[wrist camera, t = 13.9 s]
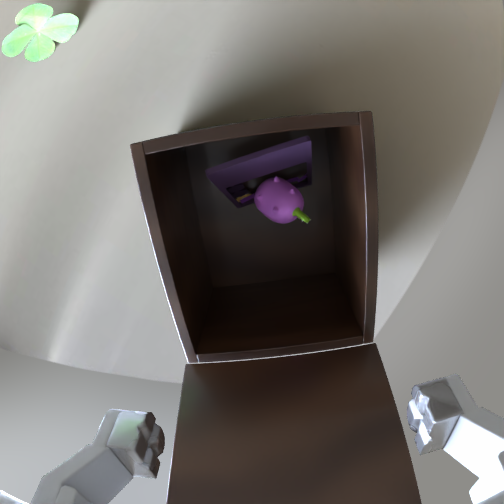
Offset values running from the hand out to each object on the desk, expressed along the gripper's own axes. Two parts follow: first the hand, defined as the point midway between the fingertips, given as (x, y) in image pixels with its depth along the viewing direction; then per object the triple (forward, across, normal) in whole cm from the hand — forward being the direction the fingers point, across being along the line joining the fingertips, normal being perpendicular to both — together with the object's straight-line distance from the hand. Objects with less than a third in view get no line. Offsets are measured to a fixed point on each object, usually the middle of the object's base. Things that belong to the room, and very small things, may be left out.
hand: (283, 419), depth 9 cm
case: (+22, 0, 0) cm, 22 cm away
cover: (+3, 0, +8) cm, 9 cm away
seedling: (+22, +18, -24) cm, 37 cm away
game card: (+16, -3, -3) cm, 17 cm away
